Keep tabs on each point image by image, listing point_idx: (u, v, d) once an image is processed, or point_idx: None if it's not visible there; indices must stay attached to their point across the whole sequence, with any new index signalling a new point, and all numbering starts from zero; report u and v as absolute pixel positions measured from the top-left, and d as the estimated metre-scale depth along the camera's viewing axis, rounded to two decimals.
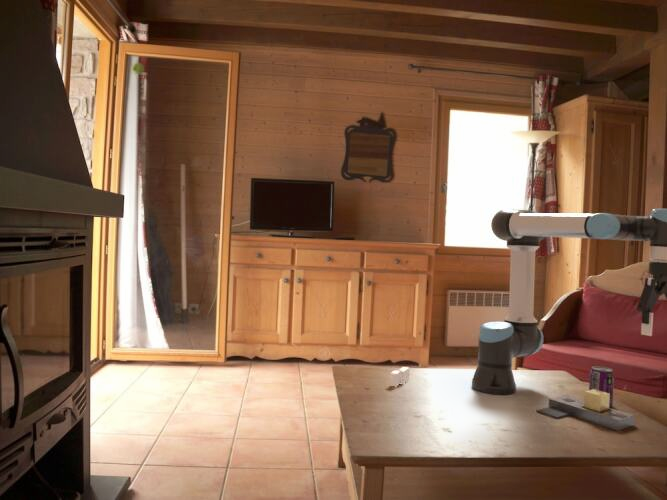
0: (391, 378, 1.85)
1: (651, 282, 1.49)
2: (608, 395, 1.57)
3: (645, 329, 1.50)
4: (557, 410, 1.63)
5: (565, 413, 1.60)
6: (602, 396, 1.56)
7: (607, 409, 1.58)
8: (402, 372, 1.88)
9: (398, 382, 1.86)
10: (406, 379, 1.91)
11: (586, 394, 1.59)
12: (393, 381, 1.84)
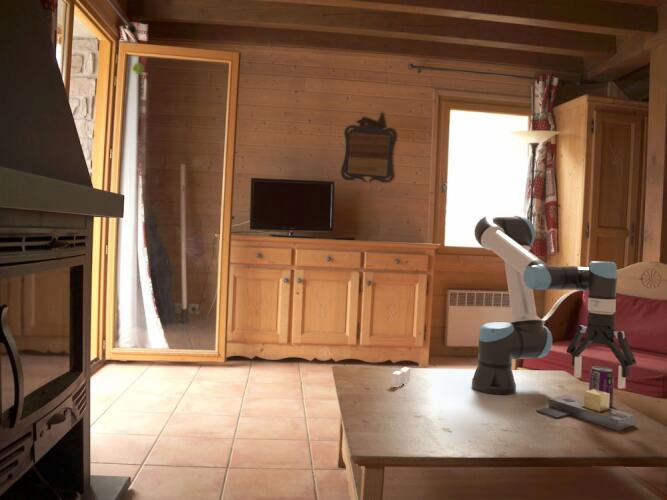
0: (393, 379, 1.84)
1: None
2: (608, 395, 1.57)
3: None
4: (557, 410, 1.63)
5: (565, 413, 1.60)
6: (602, 396, 1.56)
7: (607, 409, 1.58)
8: (404, 373, 1.87)
9: (400, 383, 1.85)
10: (407, 379, 1.90)
11: (586, 394, 1.59)
12: (395, 382, 1.83)
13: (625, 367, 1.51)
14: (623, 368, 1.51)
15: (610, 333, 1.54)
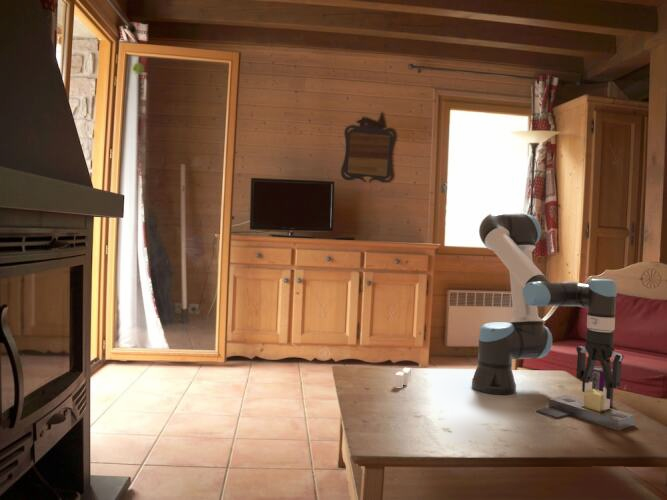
0: (396, 380, 1.83)
1: None
2: None
3: None
4: (557, 410, 1.63)
5: (565, 413, 1.60)
6: (602, 396, 1.56)
7: (607, 409, 1.57)
8: (406, 373, 1.86)
9: (403, 383, 1.84)
10: (409, 380, 1.90)
11: (586, 394, 1.59)
12: (398, 383, 1.82)
13: (609, 389, 1.55)
14: (607, 390, 1.55)
15: (609, 352, 1.55)
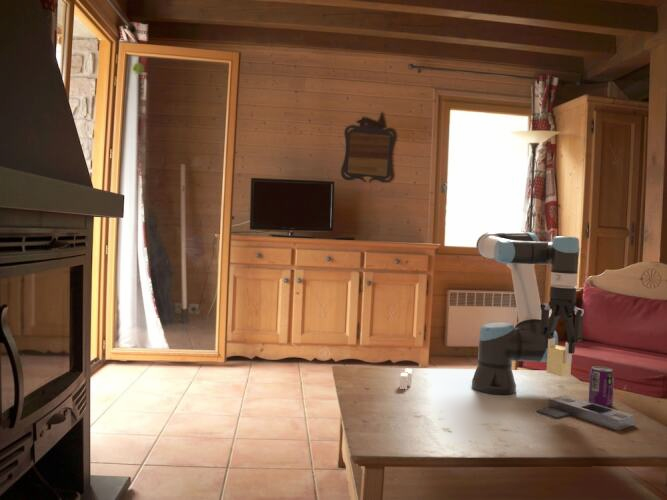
0: (401, 381, 1.81)
1: None
2: None
3: None
4: (557, 410, 1.63)
5: (565, 413, 1.60)
6: (564, 351, 1.59)
7: (569, 364, 1.61)
8: (409, 374, 1.85)
9: None
10: (411, 381, 1.89)
11: (549, 349, 1.62)
12: (403, 384, 1.81)
13: (571, 344, 1.58)
14: (569, 345, 1.58)
15: (571, 307, 1.57)
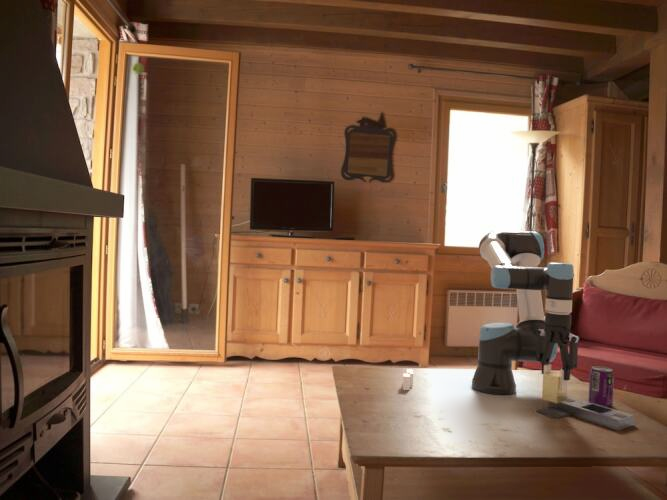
0: (404, 382, 1.81)
1: None
2: None
3: None
4: (557, 410, 1.63)
5: (565, 413, 1.60)
6: (559, 377, 1.58)
7: (565, 391, 1.60)
8: (411, 374, 1.85)
9: None
10: None
11: (544, 376, 1.61)
12: (406, 385, 1.80)
13: (566, 370, 1.57)
14: (565, 371, 1.58)
15: (566, 334, 1.58)
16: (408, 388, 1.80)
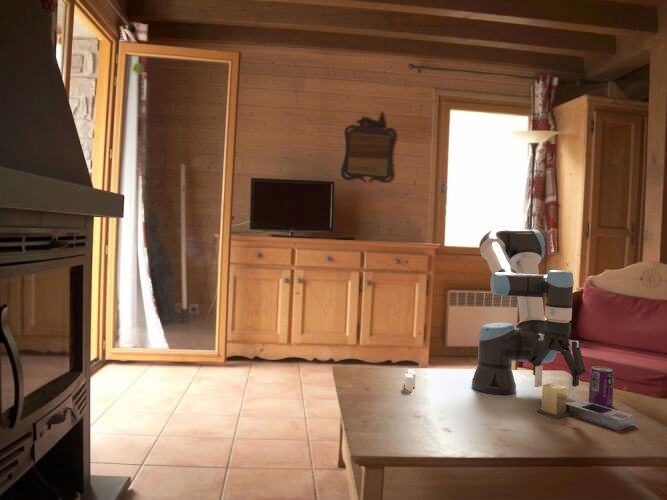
0: (407, 383, 1.80)
1: None
2: (565, 388, 1.60)
3: None
4: None
5: (565, 413, 1.60)
6: (559, 389, 1.59)
7: (564, 403, 1.60)
8: (414, 375, 1.84)
9: None
10: None
11: (544, 388, 1.62)
12: (409, 385, 1.80)
13: (575, 376, 1.55)
14: (573, 377, 1.56)
15: (565, 341, 1.58)
16: (411, 389, 1.80)
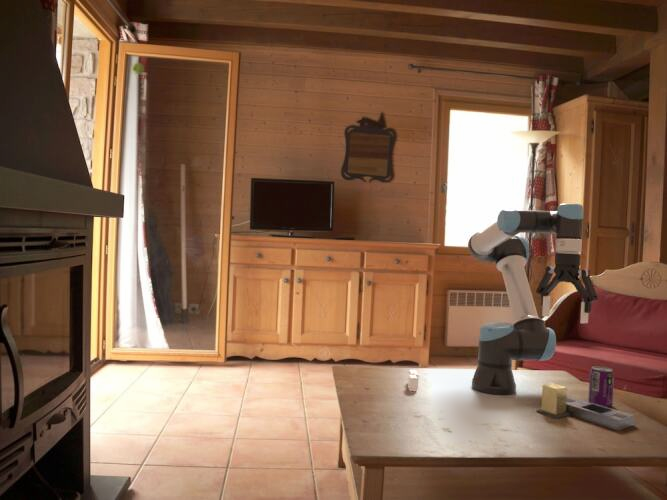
0: (411, 383, 1.79)
1: None
2: (565, 388, 1.60)
3: None
4: None
5: (565, 413, 1.60)
6: (559, 389, 1.59)
7: (564, 403, 1.60)
8: (417, 375, 1.84)
9: None
10: None
11: (544, 388, 1.62)
12: (413, 386, 1.79)
13: (587, 303, 1.58)
14: (585, 304, 1.59)
15: (575, 271, 1.62)
16: (415, 389, 1.79)
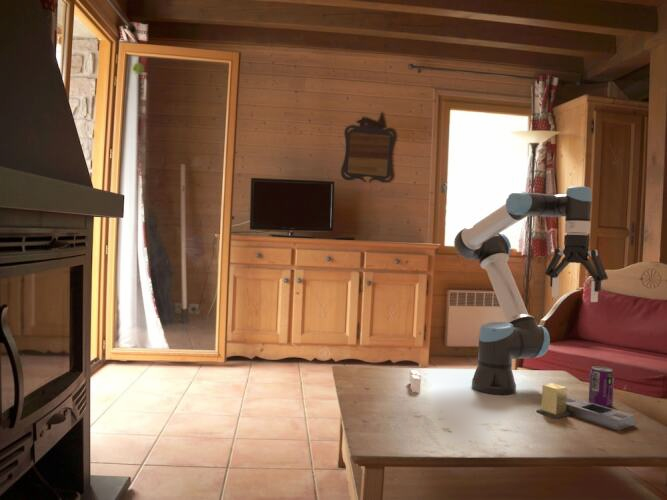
0: (414, 384, 1.79)
1: None
2: (565, 388, 1.60)
3: None
4: None
5: (565, 413, 1.60)
6: (559, 389, 1.59)
7: (564, 403, 1.60)
8: (419, 376, 1.83)
9: None
10: None
11: (544, 388, 1.62)
12: (417, 387, 1.79)
13: (597, 282, 1.63)
14: (596, 283, 1.64)
15: (584, 252, 1.67)
16: (419, 390, 1.79)
